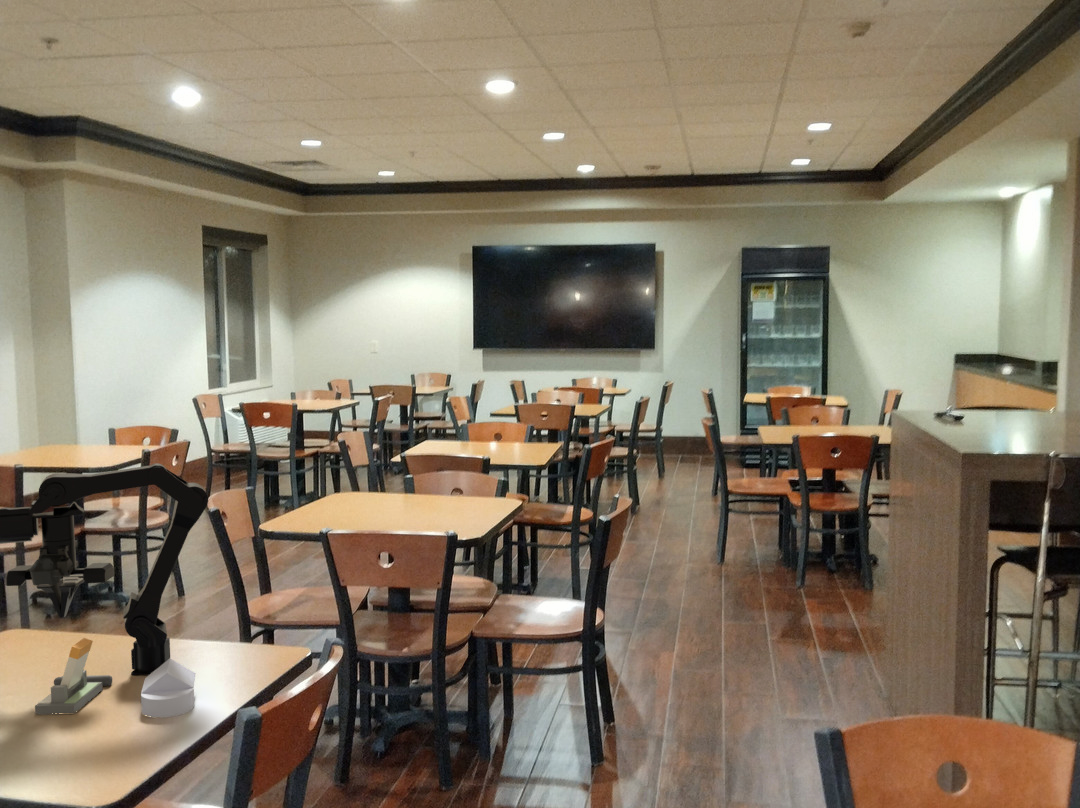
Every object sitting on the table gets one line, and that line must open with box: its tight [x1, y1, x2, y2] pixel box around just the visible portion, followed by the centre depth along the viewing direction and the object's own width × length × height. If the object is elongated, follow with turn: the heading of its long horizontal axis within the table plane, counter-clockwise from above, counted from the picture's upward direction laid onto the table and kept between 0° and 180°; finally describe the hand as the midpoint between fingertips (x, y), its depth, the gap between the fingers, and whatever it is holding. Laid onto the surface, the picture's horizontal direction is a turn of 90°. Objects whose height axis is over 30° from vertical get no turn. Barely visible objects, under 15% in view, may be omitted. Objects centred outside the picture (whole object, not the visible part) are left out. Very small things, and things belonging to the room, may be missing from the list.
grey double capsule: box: [53, 674, 113, 687], centre depth 195 cm, size 11×3×2 cm, turn 91°
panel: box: [34, 669, 104, 715], centre depth 185 cm, size 7×12×4 cm, turn 1°
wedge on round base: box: [140, 658, 196, 719], centre depth 184 cm, size 9×7×13 cm
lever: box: [61, 637, 94, 694], centre depth 185 cm, size 2×6×10 cm, turn 1°
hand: (62, 617), depth 196 cm, fingers closed
